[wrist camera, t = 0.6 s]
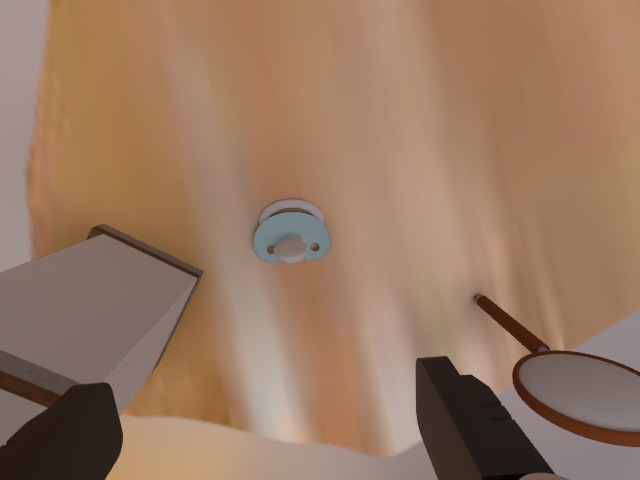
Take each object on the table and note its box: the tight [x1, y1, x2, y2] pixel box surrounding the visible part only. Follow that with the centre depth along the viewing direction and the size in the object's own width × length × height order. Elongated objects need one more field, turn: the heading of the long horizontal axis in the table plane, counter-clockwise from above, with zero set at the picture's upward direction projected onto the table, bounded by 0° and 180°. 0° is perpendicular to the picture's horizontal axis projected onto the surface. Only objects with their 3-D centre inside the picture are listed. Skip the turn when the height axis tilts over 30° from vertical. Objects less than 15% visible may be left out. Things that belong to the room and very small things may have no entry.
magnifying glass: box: [476, 295, 640, 447], centre depth 29 cm, size 9×2×20 cm, turn 93°
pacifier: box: [253, 199, 331, 264], centre depth 33 cm, size 7×6×6 cm
